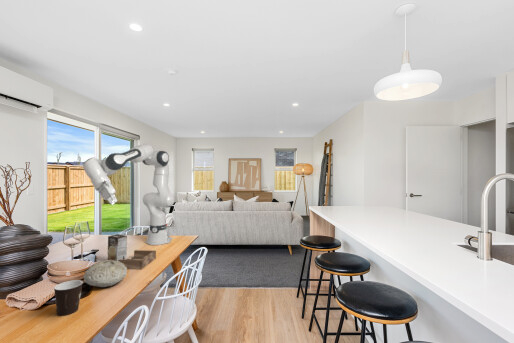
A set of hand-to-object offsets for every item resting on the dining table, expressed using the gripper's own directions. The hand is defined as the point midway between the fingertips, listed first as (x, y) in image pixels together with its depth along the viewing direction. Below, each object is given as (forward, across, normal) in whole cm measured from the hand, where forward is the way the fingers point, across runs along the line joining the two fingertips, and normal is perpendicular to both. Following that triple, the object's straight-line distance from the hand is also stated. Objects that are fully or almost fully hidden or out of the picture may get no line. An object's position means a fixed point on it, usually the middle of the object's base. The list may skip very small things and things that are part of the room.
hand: (114, 203), depth 149 cm
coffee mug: (+31, -43, +43) cm, 68 cm away
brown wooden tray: (+38, -1, +9) cm, 39 cm away
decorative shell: (+34, -23, +26) cm, 49 cm away
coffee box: (+32, +4, +15) cm, 36 cm away
